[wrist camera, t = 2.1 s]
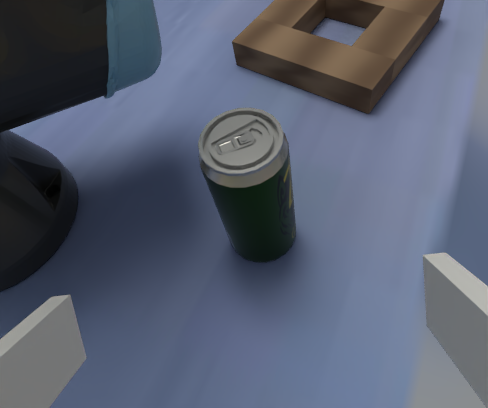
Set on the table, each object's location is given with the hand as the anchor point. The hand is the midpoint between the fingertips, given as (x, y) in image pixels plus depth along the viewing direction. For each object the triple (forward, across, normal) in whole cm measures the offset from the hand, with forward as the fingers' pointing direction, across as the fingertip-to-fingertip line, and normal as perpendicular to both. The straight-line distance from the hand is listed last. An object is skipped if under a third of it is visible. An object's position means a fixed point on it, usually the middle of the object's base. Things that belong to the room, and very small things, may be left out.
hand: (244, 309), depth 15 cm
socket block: (+34, +10, +13) cm, 38 cm away
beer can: (+18, 0, -3) cm, 18 cm away
